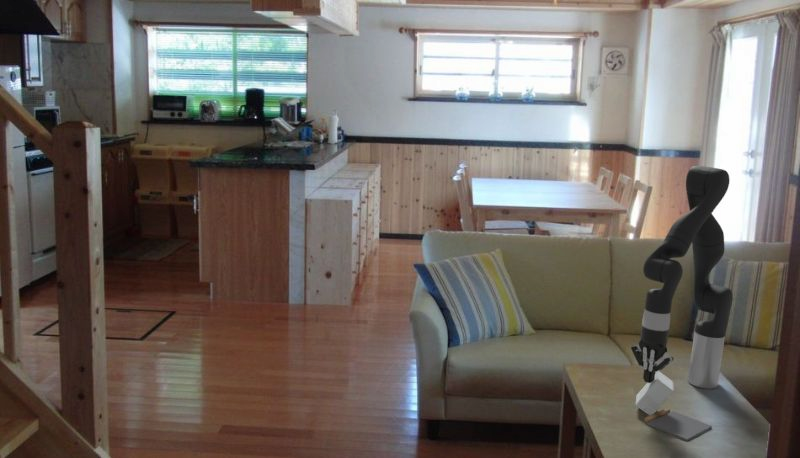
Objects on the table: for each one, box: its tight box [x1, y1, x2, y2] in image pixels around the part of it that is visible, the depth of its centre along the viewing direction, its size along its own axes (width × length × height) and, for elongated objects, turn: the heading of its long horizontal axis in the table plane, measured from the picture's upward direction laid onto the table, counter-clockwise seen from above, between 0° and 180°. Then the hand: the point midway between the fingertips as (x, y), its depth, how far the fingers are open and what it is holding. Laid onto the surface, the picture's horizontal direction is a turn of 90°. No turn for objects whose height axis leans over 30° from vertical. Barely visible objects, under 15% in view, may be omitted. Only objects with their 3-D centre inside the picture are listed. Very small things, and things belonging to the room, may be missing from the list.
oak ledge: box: [644, 407, 671, 424], centre depth 223 cm, size 12×1×1 cm, turn 132°
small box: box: [635, 370, 675, 416], centre depth 225 cm, size 8×6×10 cm
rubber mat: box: [647, 410, 713, 442], centre depth 218 cm, size 14×12×1 cm
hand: (648, 381), depth 224 cm, fingers closed
